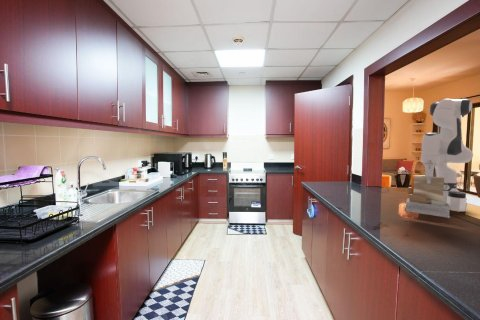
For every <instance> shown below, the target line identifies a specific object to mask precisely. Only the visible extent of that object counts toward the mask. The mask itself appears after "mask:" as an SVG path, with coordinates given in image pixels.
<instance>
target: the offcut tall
mask: <svg viewBox="0 0 480 320" xmlns="http://www.w3.org/2000/svg"><path fill="white" fill-rule="evenodd" d="M426 197H427V196H421V195H413V194H412V193H411V194H410V193H409V199H410V202H418V203H426Z"/></svg>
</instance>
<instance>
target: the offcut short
mask: <svg viewBox="0 0 480 320" xmlns="http://www.w3.org/2000/svg"><path fill="white" fill-rule="evenodd" d="M431 204H433V205H441V206H445V202H444V201H435V200H432V203H431Z"/></svg>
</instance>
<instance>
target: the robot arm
mask: <svg viewBox="0 0 480 320" xmlns="http://www.w3.org/2000/svg"><path fill="white" fill-rule="evenodd" d="M472 109H473V103H472V101H471V100H470V99H468V98H462V99H457V98H456V99H453V98H443V99H441V100H440V101H435V102H432V103H431V104H430V106H429V114H430V115H431V116H432V122H433V123H434V124H435V125H436V126H438V127H440V128H439V129H440V131H439V132H427V133H424V134H423V136H422V141H421V155H420V163H422V165H423V166H424V171H425V172H424V176H425V177H427V183H428V184H430V183H431V177H434V173H436V174H435V175H436V176H435V177H444V190H443V201H444V202H445V203H447V196H448V192H449V191H455V192H460V190H458V189H457V187H458V182H457V178H458V173H457V171H456V170H455V169H453V168H452V167H450V166H449V165H448V163H449V164H466V163H469V162H470V161H472V160H473V157H474V153H473V151H472V150H471V149H470V148H468V147H467V146H466V145H465V144H464V142H463V133H462V131H463V130H462V118H464V117H465V116H467V115H468V114H470V113H471V111H472ZM434 170H435V171H434Z"/></svg>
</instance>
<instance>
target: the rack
mask: <svg viewBox="0 0 480 320" xmlns="http://www.w3.org/2000/svg"><path fill="white" fill-rule="evenodd" d="M405 202H406V203H405V212H409V213H415V214H423V215H428V216H429V215H430V216H436V217H442V218H448V219H450V217H451V216H450V211H451V210H450V207H449V204H447V203H445V206H441V205H433V204H431V203H428V202H426V203H418V202H410V198H407V199H406V201H405Z"/></svg>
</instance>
